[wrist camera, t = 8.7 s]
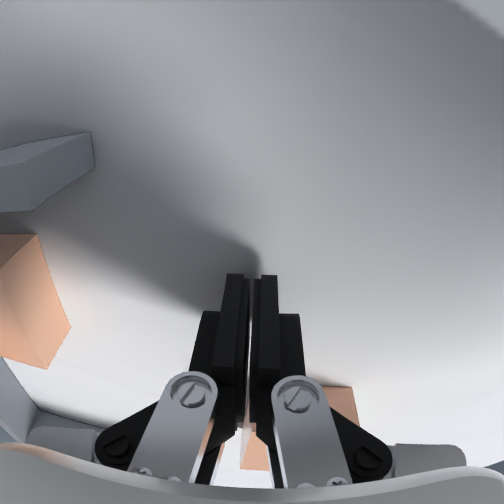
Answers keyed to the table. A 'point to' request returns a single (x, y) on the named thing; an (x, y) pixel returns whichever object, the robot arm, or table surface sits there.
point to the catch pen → (26, 199)
